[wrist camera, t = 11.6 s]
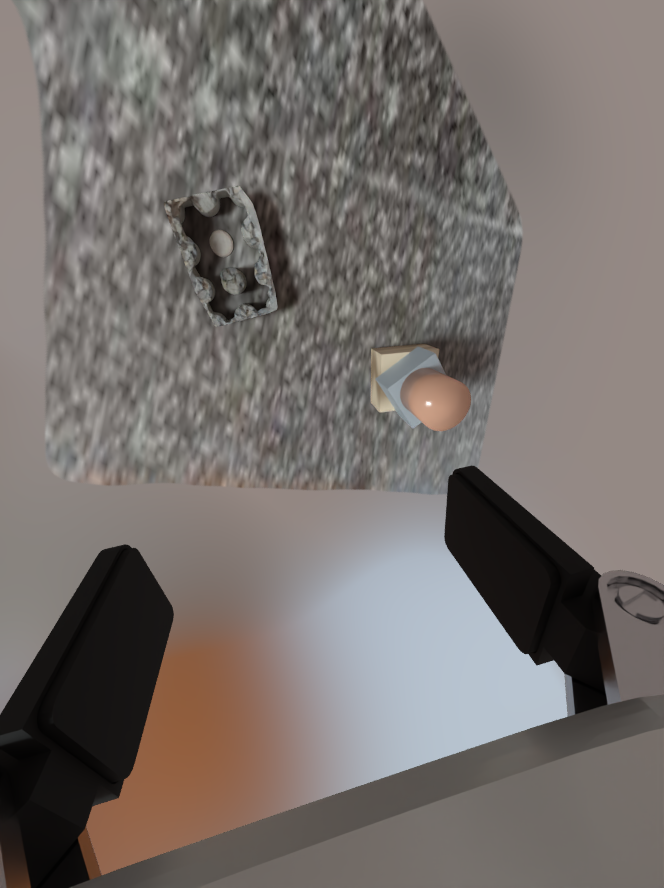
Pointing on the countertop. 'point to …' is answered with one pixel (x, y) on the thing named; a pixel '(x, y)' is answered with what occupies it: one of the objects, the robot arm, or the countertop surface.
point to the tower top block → (398, 374)
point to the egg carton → (222, 251)
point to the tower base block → (384, 361)
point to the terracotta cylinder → (435, 398)
